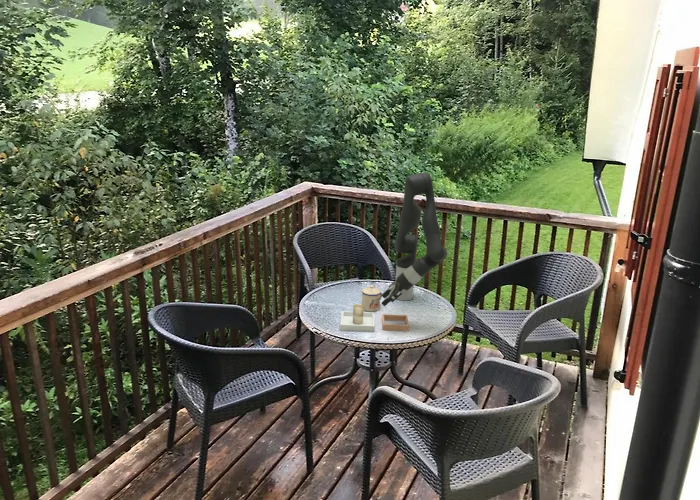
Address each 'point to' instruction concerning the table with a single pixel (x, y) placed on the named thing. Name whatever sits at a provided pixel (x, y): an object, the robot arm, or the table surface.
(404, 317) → the orange brown tray
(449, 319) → the table surface
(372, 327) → the pale green tray
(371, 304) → the teacup with lid
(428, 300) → the table surface
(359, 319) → the birch cylinder
